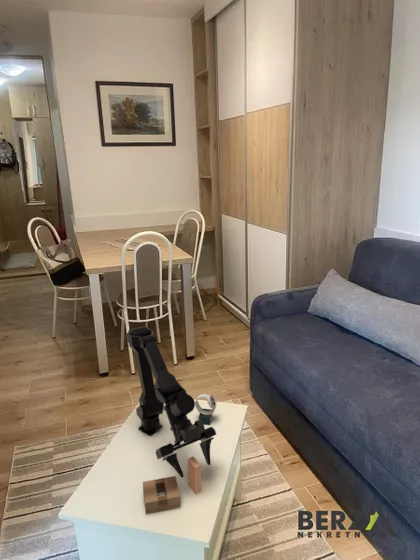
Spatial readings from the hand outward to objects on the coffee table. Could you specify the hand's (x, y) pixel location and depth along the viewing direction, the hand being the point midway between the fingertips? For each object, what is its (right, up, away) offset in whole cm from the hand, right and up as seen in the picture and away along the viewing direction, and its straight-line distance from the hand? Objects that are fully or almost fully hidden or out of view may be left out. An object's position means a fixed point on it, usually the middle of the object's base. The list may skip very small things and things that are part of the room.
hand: (196, 471), depth 122 cm
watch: (+2, +3, +35) cm, 35 cm away
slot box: (-10, -8, -1) cm, 13 cm away
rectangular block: (-1, -7, +3) cm, 8 cm away
